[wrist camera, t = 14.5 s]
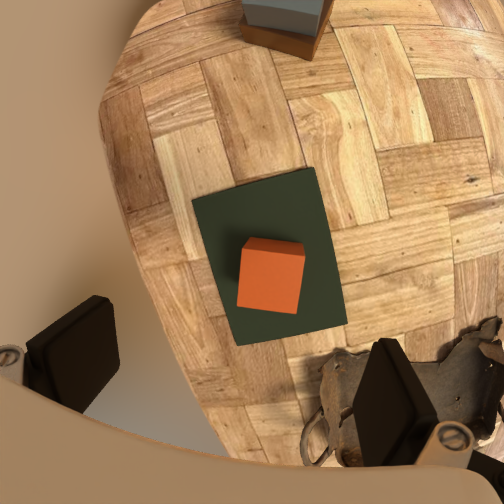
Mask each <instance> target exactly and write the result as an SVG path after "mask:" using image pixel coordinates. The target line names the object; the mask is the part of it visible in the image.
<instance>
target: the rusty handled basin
mask: <svg viewBox="0 0 504 504" xmlns="http://www.w3.org/2000/svg"><path fill="white" fill-rule="evenodd" d="M502 323H503V322H502V318H499V317H496V318H494V319H491V320H487V321H486V322H485V323H484V324H482V327H481V330H480V331H474V332H469V333H467V334H465V335H464V336H462V339H463V340H462V341H461V342H460V343H458V344H457V345H456V346H455V347H454V348H453V349H452V351H451V352H450V354H449V355H448V356H447V358H446V359H445V360H444V361H443V362H442V363H440V366H439V363H421V362H416V363H411V365H412V367H413V369H414V371H415V372H416V374H417V376H418V378H419V380H420V382H421V383H422V385H423V387H424V389H425V391H426V393H427V395H428V397H429V398H430V400H431V402H432V404H433V406H434V408H435V410H436V412H437V414H438V415H437V417H438V419H439V422H440V423H441V422H444V421H456V422H459V423H461V424H463V425H465V426H466V427H468V428H469V429H470V430H471V432H472V433H473V435H474V439H475V444H474V445H476V443H477V442H478V441H479V439H481V440H487V439H489V438H490V436H491V435H492V433H493V431H494V429H495V423H496V417H497V410H498V413H499V414H500V416H501V417H502V421H503V423H504V409H503V407H502V404H501V402H500V400H501V398H502V396H503V395H504V351H503V347H502V341H501V340H500V339H498V340H496V341H493V340H494V338H495V337H496V336H498V331H499V330H500V327H501V324H502ZM492 341H493V342H492ZM369 355H370V352H368V353H366V354H364V353H362V354H360V355H359V356H355V355H351V354H350V353H348V352H343V353H342V352H337V353H336V354H335V355H334V356H333V357H332V358H331V359H329V360H328V361H327V362H326V363H325V364H324V365H323V366H322V367H321V369H318V372H320V373H323V379H322V382H321V384H320V389H319V391H320V398H321V403H322V406H321V407H320V408H319V410H318V411H317V412H316V413H315V414H314V415H313V416H312V417H311V418H310V420H309V421H308V422H307V423H306V425H305V427H304V429H303V431H302V435H301V441H300V454H301V457H302V460H303V464H304V465H305V466H310V467H321V465H322V464H323V463H324V461H325V460H326V459H327V458H328V457H329V456H330V455H331V454H332V452H333V450H335V457H336V459H337V462H338V463H339V464H340V465H341V466H343V467H364V465H363V459H362V454H361V449H360V444H359V438H358V433H357V429H356V424H355V419H354V414H352V415H350V416H349V417H347V418H346V419H345V420H344V421H343V423H342V425H341V426H339V422H340V421H341V416H340V411H342V410H343V409H344V408H346V407H351V408H352V404H353V400H354V397H355V394H356V392H357V389H358V386H359V383H360V381H361V378H362V375H363V372H364V369H365V367H366V364H367V361H368V358H369ZM338 364H339V367H338V368H337V369H336V367H337V365H338ZM491 364H492V366H491ZM490 366H491V367H490ZM335 369H336V370H335ZM458 396H459V397H460V399H459V401H456V398H457V397H458ZM460 403H461V404H460ZM457 407H458V408H457ZM456 408H457V409H456ZM324 417H325V419H326V420H325V421H327V422H328V425H329V433H328V447H327V448H326V450H325V451H324V452H323V454H322V455H321V456H320V457H319V459H318V460H317V461H316V462H315V463H311V461H310V459H309V455H308V436H309V434H310V432H311V430H312V428H313V426H314V425H315V424H316V423H317V422H318V421H319V420H321V419H323V418H324Z"/></svg>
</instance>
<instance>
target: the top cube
mask: <svg viewBox="0 0 504 504" xmlns="http://www.w3.org/2000/svg"><path fill="white" fill-rule="evenodd" d="M304 262H305V253H304V248H303V244H302V243H296V242H288V241H279V240H271V239H263V238H255V237H250V238H249V239H248V241H247V242H246V244H245V245H244V246H243V248H242V253H241V264H240V275H239V286H238V297H237V306H239V307H246V308H253V309H260V310H268V311H276V312H283V313H292V314H296V312H297V306H298V300H299V294H300V288H301V282H302V275H303V268H304Z"/></svg>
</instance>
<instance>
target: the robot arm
mask: <svg viewBox="0 0 504 504" xmlns="http://www.w3.org/2000/svg"><path fill="white" fill-rule="evenodd" d="M26 347H27V350H28V351H27V352H26V353H25V354H24V351H23V350H22V348H20V347H19V346H16V345H3V346H0V504H504V463H503V462H500V461H498V460H496V459H494V458H491V457H489V456H487V455H485V454H483V453H481V452H478V451H476V450H474V449H473V448H474V444H475V439H474V435H473V433H472V432H471V430H470V429H469V428H468V427H466V426H465V425H463V424H461V423H459V422H456V421H444V422H441V423H440V422H439V419H438V417H437V415H438V414H437V412H436V410H435V408H434V406H433V404H432V402H431V400H430V398H429V397H428V395H427V393H426V391H425V389H424V387H423V385H422V383H421V382H420V380H419V378H418V376H417V374H416V372H415V371H414V369H413V367H412V365H411V363H410V362H409V360H408V358H407V356H406V355H405V353H404V351H403V349H402V348H401V346H400V344H399V342H398V341H397V339H392V338H380V339H379V340H378V342H374V343H373V345H372V348H371V352H370V355H369V358H368V361H367V364H366V367H365V369H364V372H363V375H362V378H361V381H360V383H359V386H358V389H357V392H356V394H355V397H354V400H353V404H352V409H353V414H354V419H355V424H356V429H357V433H358V438H359V444H360V449H361V454H362V459H363V465H364V467H310V466H294V465H282V464H272V463H263V462H255V461H248V460H241V459H235V458H229V457H224V456H218V455H213V454H208V453H203V452H199V451H194V450H190V449H186V448H182V447H177V446H173V445H170V444H166V443H163V442H159V441H156V440H152V439H149V438H146V437H143V436H140V435H137V434H133V433H130V432H127V431H125V430H121V429H119V428H116V427H113V426H111V425H108V424H105V423H103V422H100V421H98V420H95V419H93V418H90V417H88V416H86V415H83V412H84V411H85V410H86V409H87V407H88V406H89V405H90V404H91V402H92V401H93V400H94V399H95V398H96V396H97V395H98V394H99V393H100V392H101V390H102V389H103V388H104V387H105V386H106V384H107V383H108V382H109V381H110V379H111V378H112V377H113V376H114V375H115V373H116V372H117V371H118V369H119V366H120V359H119V352H118V344H117V336H116V328H115V318H114V308H113V304H112V303H111V302H110V300H109V299H108V298H106V297H102V296H97V295H93V296H92V297H90V298H89V299H87V300H86V301H84V302H83V303H81V304H80V305H78V306H77V307H76V308H74V309H73V310H71V311H70V312H68V313H67V314H65V315H64V316H62V317H61V318H60V319H58V320H57V321H55V322H54V323H53V324H51V325H50V326H48V327H47V328H46V329H44V330H43V331H41V332H40V333H39V334H37V335H36V336H35V337H33V338H32V339H30V340H29V341H28V342H26Z"/></svg>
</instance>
